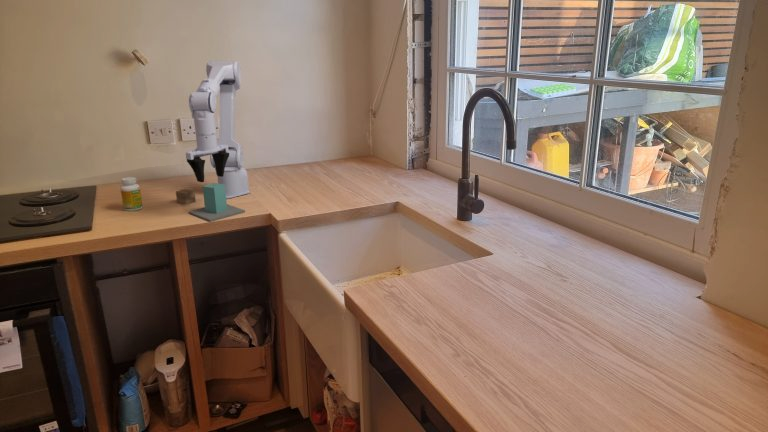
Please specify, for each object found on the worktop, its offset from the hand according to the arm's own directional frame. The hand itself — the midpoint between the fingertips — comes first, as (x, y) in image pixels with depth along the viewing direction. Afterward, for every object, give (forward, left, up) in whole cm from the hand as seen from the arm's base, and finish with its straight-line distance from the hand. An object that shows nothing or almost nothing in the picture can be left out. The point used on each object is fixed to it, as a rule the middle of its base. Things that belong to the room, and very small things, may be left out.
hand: (210, 178), depth 156 cm
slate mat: (0, +2, -10) cm, 10 cm away
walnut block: (+1, -15, -10) cm, 19 cm away
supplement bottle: (+15, -21, -11) cm, 28 cm away
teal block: (0, +2, -10) cm, 10 cm away
